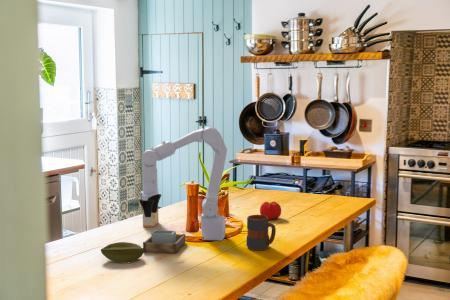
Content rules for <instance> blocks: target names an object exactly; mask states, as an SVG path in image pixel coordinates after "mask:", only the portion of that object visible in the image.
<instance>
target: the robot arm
mask: <svg viewBox="0 0 450 300" xmlns="http://www.w3.org/2000/svg"><path fill="white" fill-rule="evenodd" d="M203 141H204V143H206V144H207V145H208V146H210V147H211V149H212V150H213V151H214V153H213V154H214V155H213V159H212V165H211V168H210V175H209V180H208V186H207V189H206V193H205V197H204V199H203V200H202V202H201V208H202V209H201V210H202V211H201V212H202V213H201V215H200V224H201V225H200V227H201V229H200V233H201V234H200V236H201V235H202V236H203V237H204V239H202V240H201V241H223V240H224V238H225V237H226V236H225V234H226V218H225V216H221V215H220V213H219V206H218V202H219V195H220V194H219V193H220V187H221V183H222V177H223V173H224V169H225V164H226V158H227V152H228V148H227V146H226V144H225V141H224V139H223V137H222V135H221V133H220V132H219V131H218V129H217V128H216V127H214V126H211V125H207V126H205V127H204V128H203V127H202V128H199V129H196V130H194V131H191V132H189V133H187V134H186V135H184V136H182V137H179V138H177V139H176V140H174V141H170V140H164V141H163V140H162V142H161V143H160V144H159V145H156V146H154V147H153V146H151V147H150V149H146V150H144V152H143V153H142V154H141V161H142V170H141V171H142V191H140V192H139V193H140V195H141V198H140V199H139V200H138V201H139V204H140V206H141V208H143V211H144V215H145V217H151V213H156V212H157V208H158V209H159V203H160V199H161V197H162V194H161V193H159V188H158V168H157V162H161V161H162V160H165V159H167V158H168V157H171V156H173V155H175V153H176V150H178V149H180V148H183V147H185V146H187V145H189V144H193V143H203ZM143 211H142V212H143Z"/></svg>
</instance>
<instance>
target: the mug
mask: <svg viewBox="0 0 450 300" xmlns="http://www.w3.org/2000/svg"><path fill="white" fill-rule="evenodd" d="M246 220H247V221H246V229H247V230H246V231H247V235H246V247H247V249H249V250H250V251H251V250H252V251H266V250H268V249H269V247H270V245H271V244H273V242H274V241H275V239H276V238H275V236H276V232H277V230H276V229H277V228H276V226H275V224H274V223H272V222H269V220H268V217H267V216H265V215H261V214H252V215H251V214H250V215H248V216H247V218H246ZM269 228H271V232H270V233H271V234H269Z"/></svg>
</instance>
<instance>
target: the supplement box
mask: <svg viewBox="0 0 450 300" xmlns="http://www.w3.org/2000/svg"><path fill="white" fill-rule="evenodd" d="M141 208H142V207H141ZM159 221H160V220H159V207H158V208H157V212H156V213H151V217H145V215H144V211H143V208H142V228H143V227H144V228H153V227H155V226H156V225H158V224H159Z"/></svg>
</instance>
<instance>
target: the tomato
mask: <svg viewBox="0 0 450 300" xmlns="http://www.w3.org/2000/svg"><path fill="white" fill-rule="evenodd" d="M281 214H282V207H281V205H280V203H278V202H277V201H275V200H274V201H270V202H269V201H264V202H263V203H262V204H260V208H259V215H265V216H267V217H268V221H271V220H272V221H273V220H274V219H275V220H276V219H279V218H280V217H281Z"/></svg>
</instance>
